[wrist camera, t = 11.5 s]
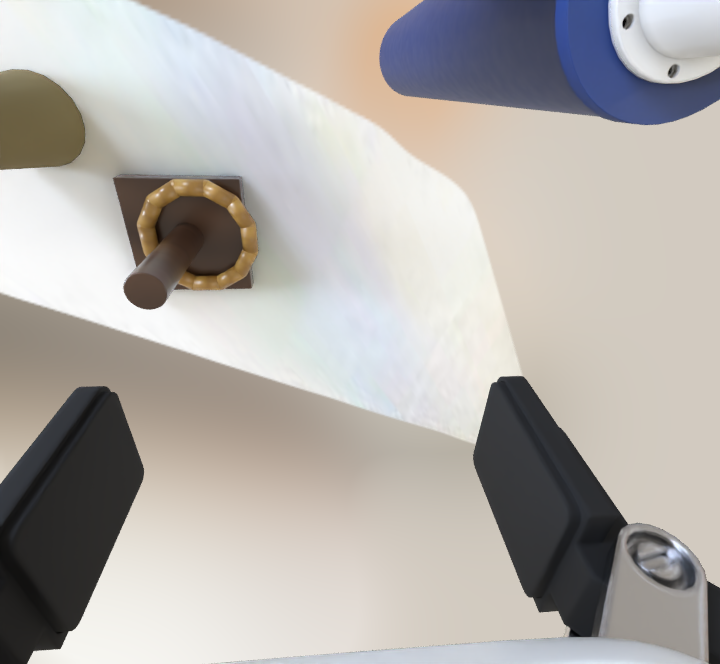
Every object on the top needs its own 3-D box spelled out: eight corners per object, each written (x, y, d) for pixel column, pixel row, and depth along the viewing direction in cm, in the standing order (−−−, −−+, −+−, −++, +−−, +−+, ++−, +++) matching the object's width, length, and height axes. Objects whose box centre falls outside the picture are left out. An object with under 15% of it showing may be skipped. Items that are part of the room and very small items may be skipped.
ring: (128, 176, 30) (122, 180, 29) (252, 178, 31) (250, 181, 30) (156, 287, 34) (151, 293, 33) (262, 285, 35) (261, 291, 34)
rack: (119, 174, 31) (33, 214, 21) (241, 176, 32) (212, 215, 22) (147, 284, 35) (87, 357, 26) (253, 283, 36) (233, 353, 27)
